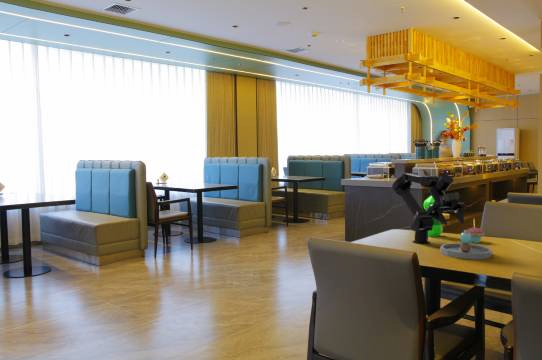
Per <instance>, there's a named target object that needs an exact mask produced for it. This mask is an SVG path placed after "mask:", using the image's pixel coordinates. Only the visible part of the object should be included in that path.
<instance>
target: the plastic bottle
mask: <svg viewBox="0 0 542 360" xmlns="http://www.w3.org/2000/svg"><path fill="white" fill-rule="evenodd" d="M431 204H434V199H433V197H432V196H428V197H427V198H426V199H425V200H424V201H423V208H424V210H425V211H427V209H428V208H429V207H430V205H431ZM432 219H433V221H434V224H433V227H432V231H428V237H435V238H437V237H439V236H440V235H441V234H442V233H443V231H444V227H443V224H442V223H441V222H440V221H438V220H437V219H435V218H433V217H432Z"/></svg>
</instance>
